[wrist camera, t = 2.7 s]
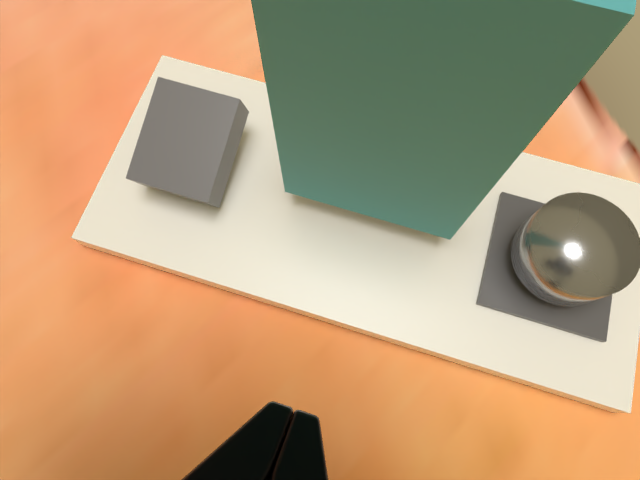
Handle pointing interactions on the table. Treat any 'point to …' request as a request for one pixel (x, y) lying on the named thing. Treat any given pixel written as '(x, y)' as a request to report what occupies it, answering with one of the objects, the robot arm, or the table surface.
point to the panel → (377, 258)
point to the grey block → (188, 141)
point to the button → (576, 250)
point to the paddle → (420, 95)
